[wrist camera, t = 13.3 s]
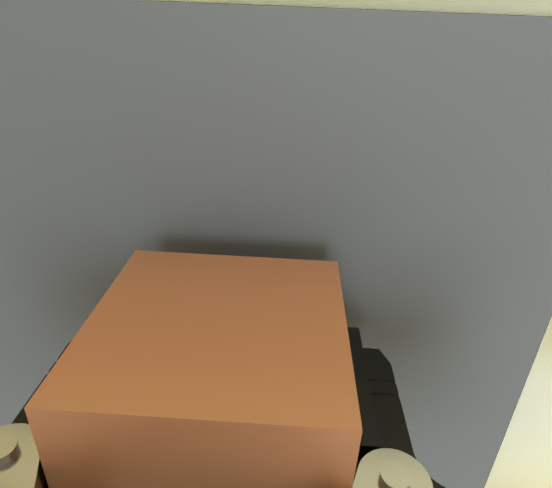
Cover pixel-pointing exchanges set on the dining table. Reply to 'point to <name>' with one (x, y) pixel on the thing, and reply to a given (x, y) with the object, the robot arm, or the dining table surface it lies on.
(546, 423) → the dining table surface
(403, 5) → the dining table surface
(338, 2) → the dining table surface
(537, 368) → the dining table surface
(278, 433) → the terracotta block
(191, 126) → the slate board
